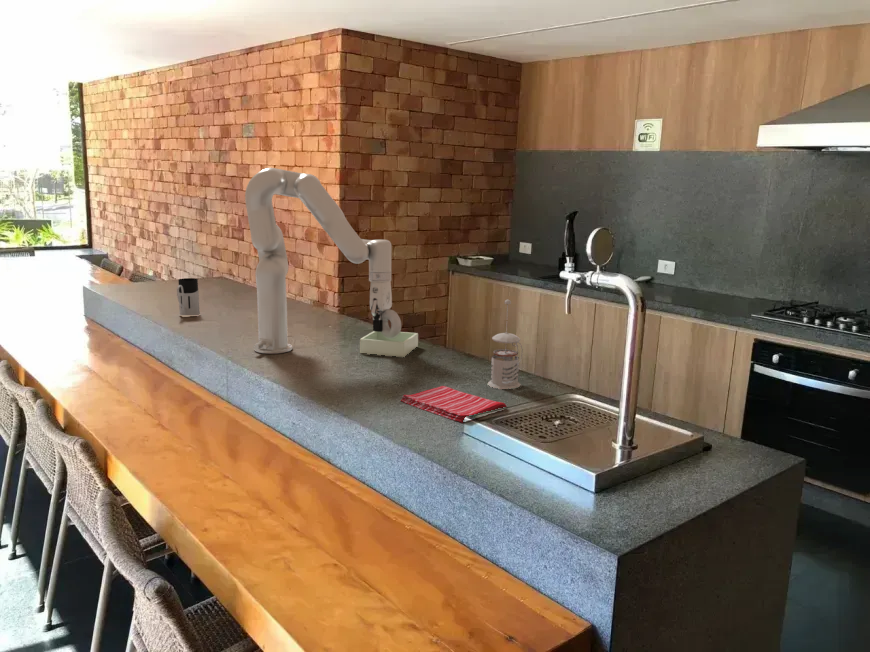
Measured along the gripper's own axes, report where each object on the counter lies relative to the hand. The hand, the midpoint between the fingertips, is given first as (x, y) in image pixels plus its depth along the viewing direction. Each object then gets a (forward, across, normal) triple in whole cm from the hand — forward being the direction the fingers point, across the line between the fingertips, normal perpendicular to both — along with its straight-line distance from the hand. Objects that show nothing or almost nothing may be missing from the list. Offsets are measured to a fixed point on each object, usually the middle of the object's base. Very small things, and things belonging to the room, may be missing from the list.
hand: (380, 329), depth 242 cm
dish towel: (+8, -51, -39) cm, 65 cm away
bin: (+7, 0, -3) cm, 8 cm away
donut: (+3, -1, -4) cm, 5 cm away
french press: (+7, -27, -48) cm, 56 cm away
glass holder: (+7, +26, +94) cm, 97 cm away
